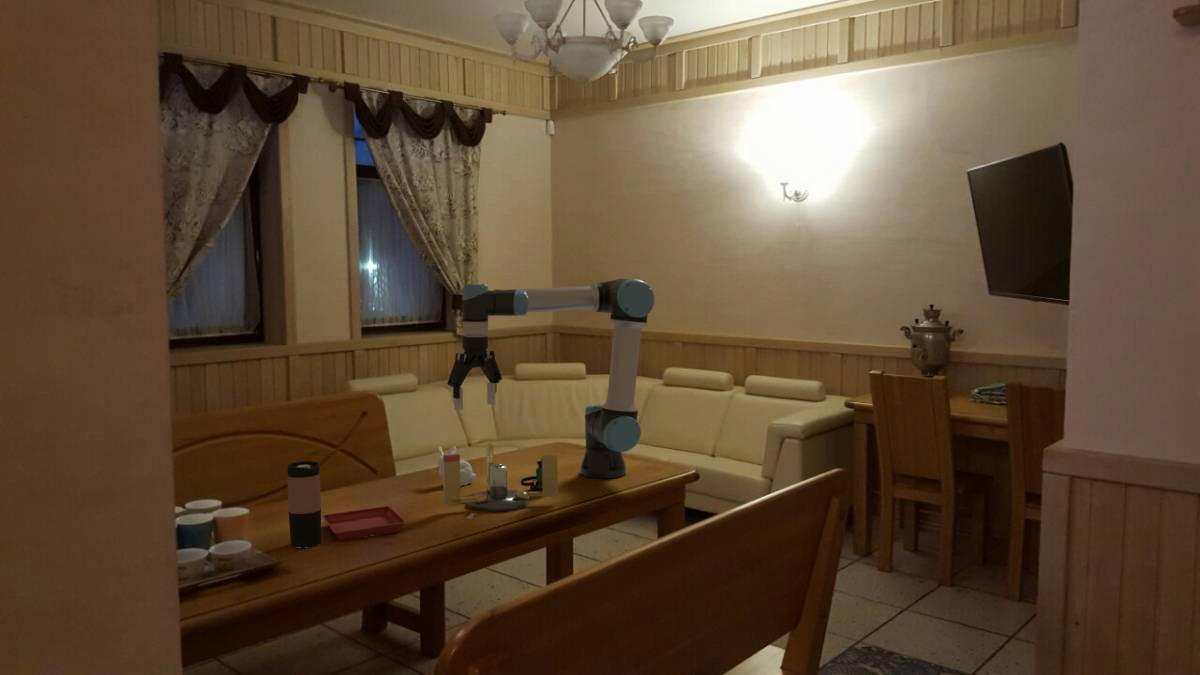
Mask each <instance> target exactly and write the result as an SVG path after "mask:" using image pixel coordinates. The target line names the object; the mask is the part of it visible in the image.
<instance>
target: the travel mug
mask: <svg viewBox="0 0 1200 675" xmlns="http://www.w3.org/2000/svg"><path fill="white" fill-rule="evenodd" d="M320 474H321V473H320V463H319V462H317V461H309V460H307V461H297V462H291V463H289V464H287V499H288V500H287V503H288V504H287V506H288V508H287V509H288V522H289V523H288V524H289V536H290V537H289V539H290V546H291V547H292V546H293V547H301V548H300V549H306V548H305V547H311V548H313V547H312V546H315V547H317V546H319V545H321V543H322V502H321V501H322V500H321V496H322V495H321V477H320V476H321V475H320ZM318 544H319V545H318ZM316 545H317V546H316ZM293 547H292V548H293Z"/></svg>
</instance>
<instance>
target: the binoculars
mask: <svg viewBox="0 0 1200 675" xmlns="http://www.w3.org/2000/svg"><path fill="white" fill-rule="evenodd" d="M536 464H537V466H538V467H537V468H535V473H536V474H535V476H534V475H533V476H527V477H524V478H522V479H520V486H525V487H529V489H525V491H528V492H538V491H542V457H541V458H540V460H538V461H536ZM527 481H531V482H527Z"/></svg>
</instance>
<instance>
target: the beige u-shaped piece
mask: <svg viewBox="0 0 1200 675" xmlns="http://www.w3.org/2000/svg"><path fill="white" fill-rule="evenodd" d="M460 456H461V455H460V454H459V453H455V454H453V455H446V454H444V455H443V478H442V479H443V481H442V482H443V483H444V485H443V504H444V505H445V506H446V505H455V504H457V505H458V504H461V503H469V502H471V501H473V502H474V503H485V502H487V501H488V495H486V494H476V493H475V494H476V495H474V496H472V495H470V496H471V497H470V496H463V497H461V486H460V460H461V457H460Z"/></svg>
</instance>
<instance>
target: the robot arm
mask: <svg viewBox="0 0 1200 675" xmlns="http://www.w3.org/2000/svg"><path fill="white" fill-rule="evenodd" d="M461 299H462V300H461V301H462V335H463V337H462V349H463V350H464V351H463V353H462V352H456V353H455V360H454V364H453V367H452V369H451V372H450V374H449V378H448V381H447V386H449V387H451V388H452V391H453V392H452V395H453V396H452V397H453V399H454V410H456V411H457V410H458V411H463V410H464V387H462V385H463V383H464V381H465V379H466V378H467V376H468V374H469V373H470V371H471V370H473V368H480V369H481V371H482V373H483V374H484V375H485V377H486V378H487V380H488V381H489V382H486V385H487V388H486V389H487V390H486V394H487V395H486V396H487V397H486V400H487V402H486V403H487V404H486V405H491V406H494V405H495V406H496V394H497V384H499V383H500V381H502V379H503V377H502V374H501V372H500V369H499V366H498V363H497V361H496V358H495V357H496V356H495V351H494V350H487V349H489V337H488V335H489V316H490V317H493V316H498V317H499V316H500V317H501V316H503V317H505V316H508V317H518V316H525V315H527V314H528V313H541V312H542V313H543V312H545V313H546V312H563V311H565V312H567V311H568V312H569V311H583V310H585V311H586V310H590V311H592V312H593V313H609V314H610V317H609V320H610V322H611V323H612V324H613V326H614V327H613V328H614V329H613V334H612V335H613V337H612V347H611V358H610V366H609V374H608V375H609V378H608V386H607V387H608V388H607V396H606V397H607V398H606V401H605V402H604V403H603V404H595V405H594V404H593V405H589V406H588V405H587V406H586V407H585V414H584V420H585V423H584V425H585V430H584V431H585V432H584V433H585V435H584V436H585V451H584V454H583V459H582V461H581V465H580V475H581V474H582V475H581V476H583V477H585V476H586V477H585V478H590V477H591V478H590V479H614V478H615V479H616V478H620V477H624V476H625V475H626V474H627V466H626V463H625V459H624V456H623V453H626V452H629V451H631V450H632V449H634V448H635V447H636V445H637V444H638V443H639V442H640V439H641V435H642V430H641V425H640V423H639V422H638V416H639V415H638V414H639V409H638V408H637V406H636V405H635V396H636V385H637V377H638V376H637V374H638V368H639V367H638V366H639V365H638V364H639V357H640V356H639V355H640V346H641V337H642V329H643V328H644V327H645V326H646V325H647V324H648V317H649V314H650V313H651V311H652V310H653V308H654V306H655V294H654V291H653V289H652V288H651V286H650V285H649V284H648V283H647V282H646V281H643V280H641V279H636V278H625V279H624V278H618V279H617V278H616V279H613V280H608V281H601V282H600V281H599V282H592V283H591V284H590V285H587V286H583V285H581V286H562V287H561V286H560V287H539V288H536V287H535V288H516V289H494V290H490V289H489V286H488V284H486V283H466V284H464V286H463V287H462V297H461Z"/></svg>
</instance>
